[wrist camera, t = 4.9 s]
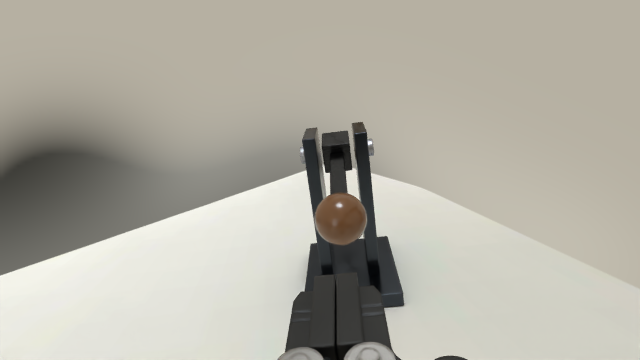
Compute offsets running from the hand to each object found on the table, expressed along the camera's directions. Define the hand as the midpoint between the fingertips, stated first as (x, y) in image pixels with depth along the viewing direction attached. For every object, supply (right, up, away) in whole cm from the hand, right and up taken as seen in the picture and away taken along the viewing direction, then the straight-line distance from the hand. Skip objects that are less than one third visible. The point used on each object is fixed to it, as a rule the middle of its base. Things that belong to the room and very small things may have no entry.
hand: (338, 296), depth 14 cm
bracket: (+2, -5, +23) cm, 23 cm away
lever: (+1, +3, +15) cm, 15 cm away
